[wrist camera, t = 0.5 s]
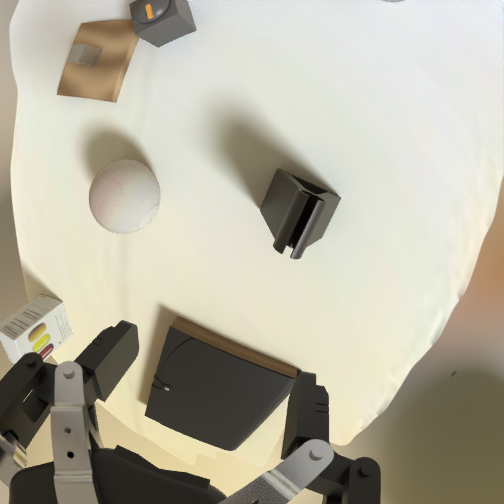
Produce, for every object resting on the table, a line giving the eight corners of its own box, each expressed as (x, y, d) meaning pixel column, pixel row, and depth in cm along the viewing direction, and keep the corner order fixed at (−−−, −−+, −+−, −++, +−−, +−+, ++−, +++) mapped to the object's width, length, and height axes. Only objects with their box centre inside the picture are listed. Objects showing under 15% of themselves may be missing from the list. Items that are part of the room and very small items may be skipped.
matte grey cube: (90, 49, 30) (72, 44, 26) (102, 49, 30) (85, 43, 26) (84, 65, 31) (66, 62, 27) (96, 66, 31) (78, 61, 27)
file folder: (167, 327, 43) (303, 383, 43) (177, 313, 46) (303, 367, 47) (143, 416, 56) (234, 453, 56) (149, 404, 59) (237, 441, 60)
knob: (151, 18, 29) (124, 1, 22) (187, 1, 27) (165, -21, 20) (158, 47, 31) (129, 31, 24) (196, 30, 29) (173, 9, 22)
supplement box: (74, 334, 55) (31, 376, 39) (50, 325, 56) (10, 362, 40) (63, 300, 51) (13, 340, 36) (40, 292, 53) (-7, 327, 37)
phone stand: (259, 209, 37) (241, 236, 26) (277, 168, 35) (266, 176, 24) (321, 237, 37) (328, 275, 26) (341, 197, 35) (358, 220, 24)
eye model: (135, 144, 37) (91, 147, 28) (185, 182, 38) (150, 195, 28) (107, 197, 40) (65, 212, 31) (152, 235, 41) (116, 260, 32)
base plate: (86, 25, 30) (81, 23, 28) (145, 22, 29) (141, 19, 28) (62, 95, 35) (56, 94, 34) (116, 102, 35) (110, 101, 33)
